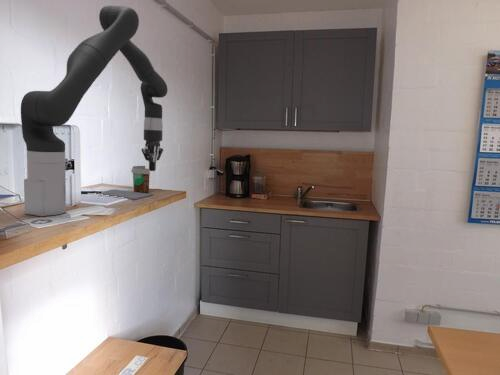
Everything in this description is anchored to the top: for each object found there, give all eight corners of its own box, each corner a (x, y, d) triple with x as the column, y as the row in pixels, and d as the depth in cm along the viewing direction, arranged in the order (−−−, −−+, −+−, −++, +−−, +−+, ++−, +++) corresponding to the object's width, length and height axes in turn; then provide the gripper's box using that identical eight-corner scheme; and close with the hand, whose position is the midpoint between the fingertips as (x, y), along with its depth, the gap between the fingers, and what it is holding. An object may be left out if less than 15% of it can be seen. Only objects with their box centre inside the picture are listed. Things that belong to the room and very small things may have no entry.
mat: (134, 199, 127) (134, 198, 127) (93, 194, 132) (93, 193, 132) (153, 195, 138) (153, 194, 138) (114, 190, 143) (114, 189, 143)
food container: (129, 189, 148) (129, 165, 146) (144, 189, 151) (144, 165, 149) (132, 194, 137) (133, 168, 135) (149, 194, 139) (149, 168, 138)
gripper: (151, 129, 141) (150, 172, 144) (169, 130, 154) (168, 170, 156) (135, 128, 144) (135, 171, 146) (154, 129, 156) (153, 168, 158)
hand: (152, 170), depth 151 cm, fingers closed
